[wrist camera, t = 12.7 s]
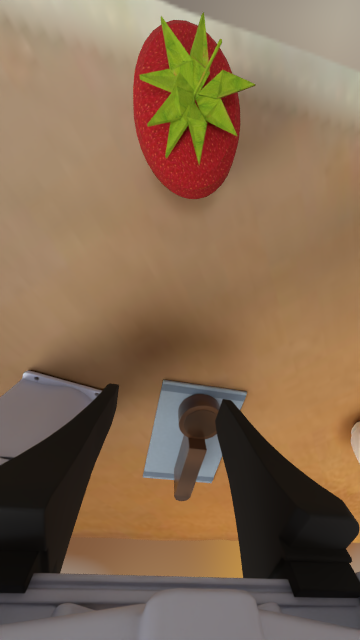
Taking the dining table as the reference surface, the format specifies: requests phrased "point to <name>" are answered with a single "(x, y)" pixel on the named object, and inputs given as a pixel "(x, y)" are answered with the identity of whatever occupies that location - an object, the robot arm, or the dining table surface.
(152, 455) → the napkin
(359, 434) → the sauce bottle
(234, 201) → the dining table surface
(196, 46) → the strawberry
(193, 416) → the spoon
